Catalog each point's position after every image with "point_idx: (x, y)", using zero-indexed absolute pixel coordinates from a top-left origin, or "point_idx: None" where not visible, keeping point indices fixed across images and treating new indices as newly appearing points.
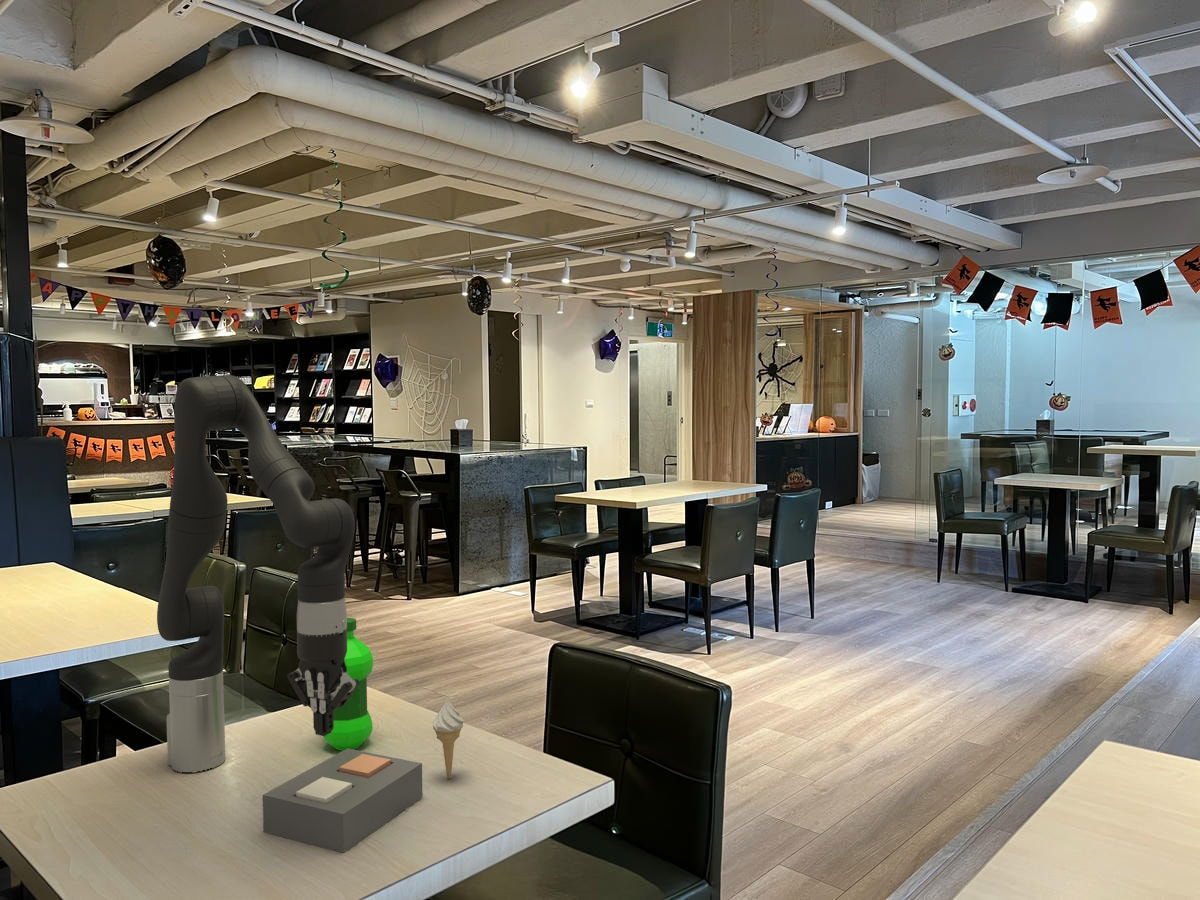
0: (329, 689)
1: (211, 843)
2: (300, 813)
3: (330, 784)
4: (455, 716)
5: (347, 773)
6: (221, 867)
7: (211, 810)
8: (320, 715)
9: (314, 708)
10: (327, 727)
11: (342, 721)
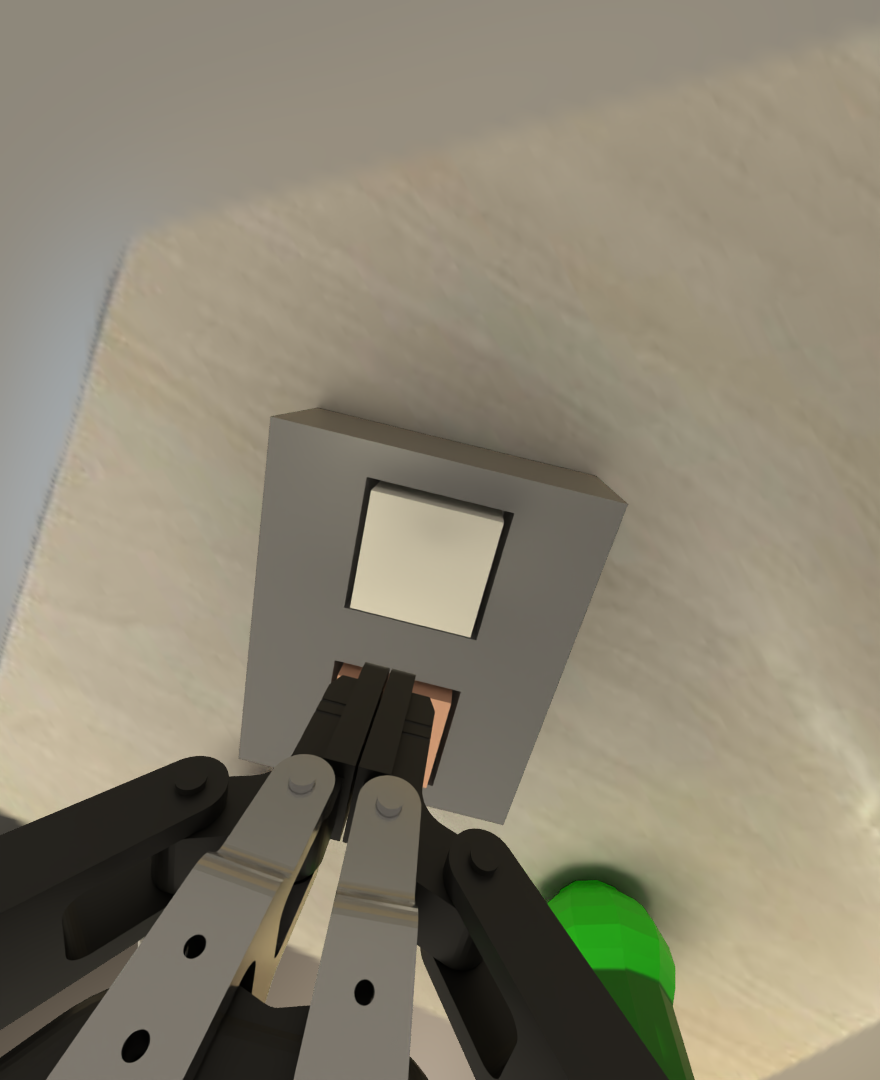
0: (86, 1002)
1: (723, 388)
2: (457, 455)
3: (415, 591)
4: (138, 945)
5: (420, 685)
6: (623, 257)
7: (813, 567)
8: (342, 751)
9: (378, 798)
10: (324, 695)
11: (601, 965)
